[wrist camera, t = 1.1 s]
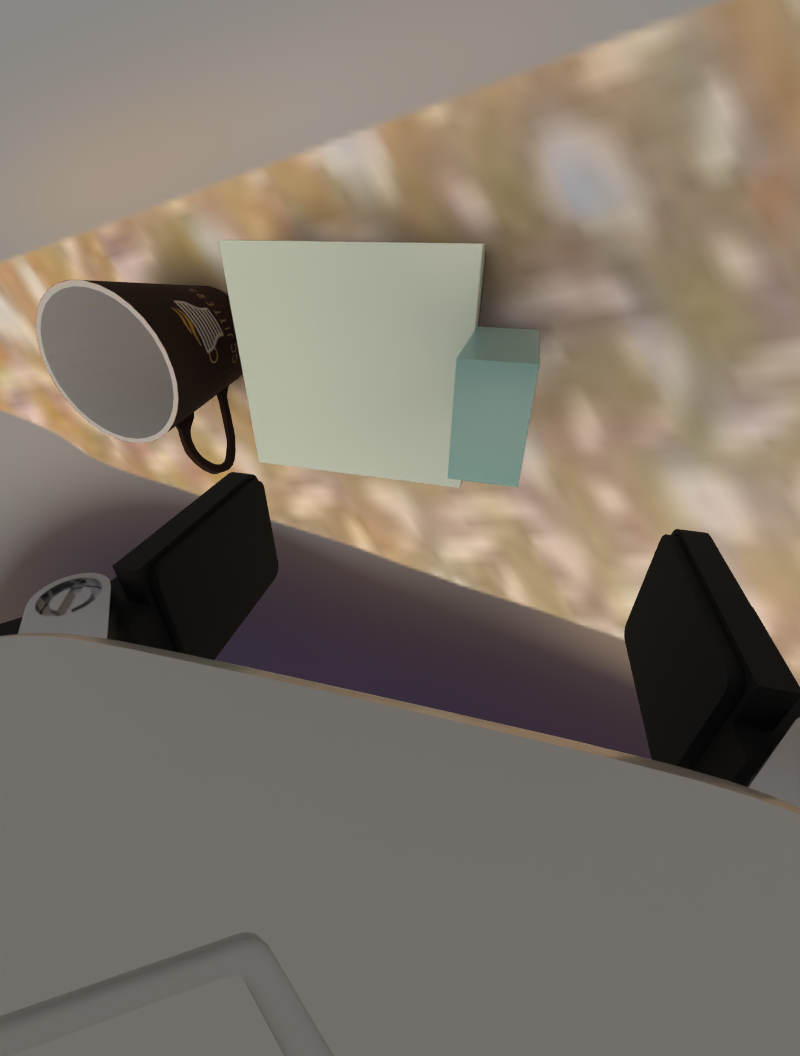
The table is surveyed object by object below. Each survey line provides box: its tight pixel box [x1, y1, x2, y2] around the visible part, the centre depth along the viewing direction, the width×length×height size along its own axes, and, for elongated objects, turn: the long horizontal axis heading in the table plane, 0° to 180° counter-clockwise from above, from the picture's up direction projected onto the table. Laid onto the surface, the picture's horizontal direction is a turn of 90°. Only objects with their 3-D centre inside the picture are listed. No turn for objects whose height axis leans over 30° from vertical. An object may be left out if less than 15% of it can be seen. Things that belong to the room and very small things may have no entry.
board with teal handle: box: [218, 240, 540, 488], centre depth 22 cm, size 16×12×7 cm
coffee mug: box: [36, 280, 243, 474], centre depth 29 cm, size 12×9×10 cm
